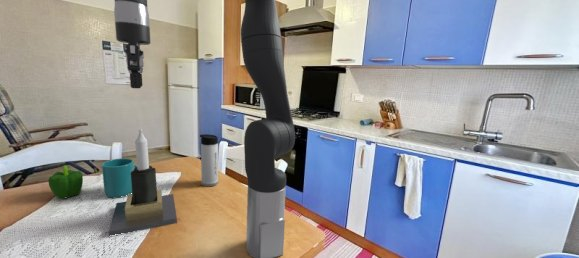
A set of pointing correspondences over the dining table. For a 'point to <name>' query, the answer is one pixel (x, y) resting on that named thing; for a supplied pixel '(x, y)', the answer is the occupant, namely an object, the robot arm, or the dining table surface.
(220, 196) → the dining table surface
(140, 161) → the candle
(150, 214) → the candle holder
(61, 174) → the bell pepper
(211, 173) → the travel mug
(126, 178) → the cup
